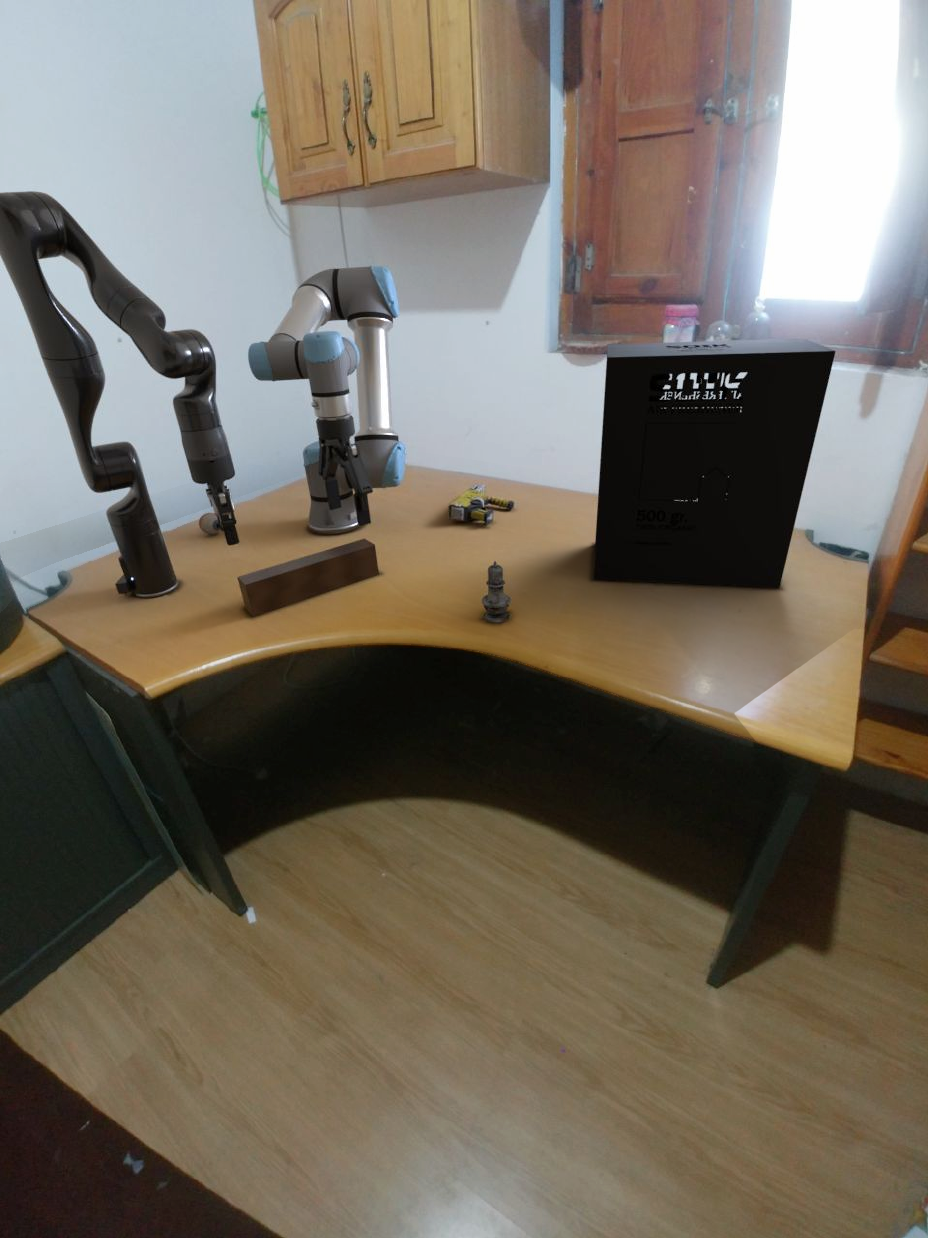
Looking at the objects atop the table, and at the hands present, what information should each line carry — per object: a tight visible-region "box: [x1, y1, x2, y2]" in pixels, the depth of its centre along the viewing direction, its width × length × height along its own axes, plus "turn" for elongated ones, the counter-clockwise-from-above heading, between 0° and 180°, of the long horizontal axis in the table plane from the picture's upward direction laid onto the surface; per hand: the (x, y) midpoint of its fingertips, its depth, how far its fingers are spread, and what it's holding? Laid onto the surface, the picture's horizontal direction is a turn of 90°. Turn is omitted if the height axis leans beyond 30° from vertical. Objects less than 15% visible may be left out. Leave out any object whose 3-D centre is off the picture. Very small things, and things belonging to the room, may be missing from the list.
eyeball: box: [198, 512, 221, 536], centre depth 167 cm, size 6×6×6 cm
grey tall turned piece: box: [480, 560, 512, 623], centre depth 117 cm, size 6×6×12 cm
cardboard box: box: [592, 337, 836, 589], centre depth 125 cm, size 38×20×45 cm, turn 78°
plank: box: [236, 538, 380, 618], centre depth 133 cm, size 30×5×8 cm, turn 126°
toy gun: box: [447, 482, 515, 525], centre depth 172 cm, size 5×24×15 cm
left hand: (230, 536), depth 116 cm, fingers open, 8 cm apart
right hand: (349, 516), depth 133 cm, fingers open, 13 cm apart
